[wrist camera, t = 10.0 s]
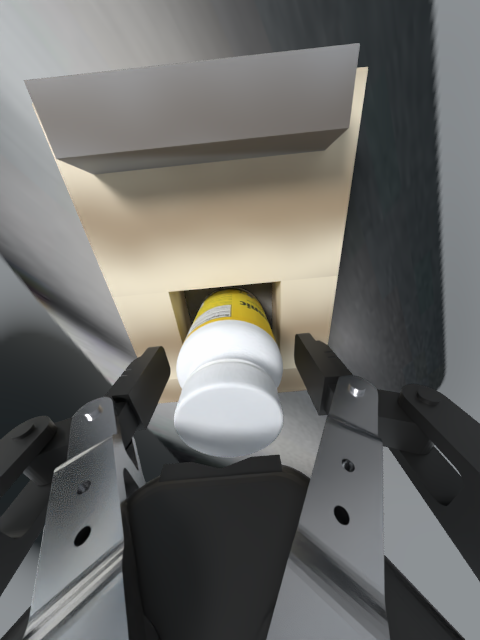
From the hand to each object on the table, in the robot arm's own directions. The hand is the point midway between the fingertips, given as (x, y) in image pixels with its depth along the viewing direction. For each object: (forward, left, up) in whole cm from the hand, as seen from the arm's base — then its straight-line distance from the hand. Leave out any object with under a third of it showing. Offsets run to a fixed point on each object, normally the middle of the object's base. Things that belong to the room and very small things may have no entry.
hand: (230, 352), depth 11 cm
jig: (-3, 0, -5) cm, 6 cm away
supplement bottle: (0, 0, -5) cm, 5 cm away
